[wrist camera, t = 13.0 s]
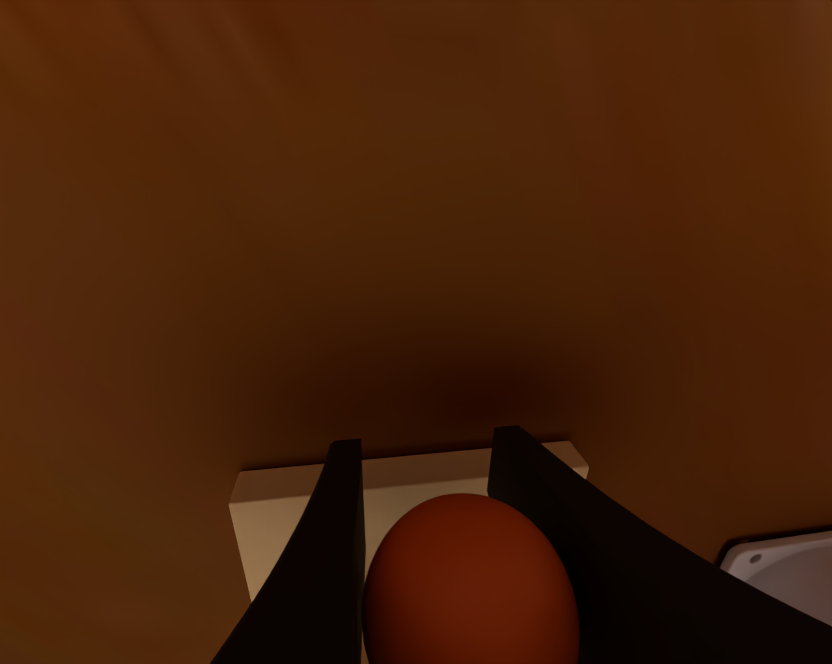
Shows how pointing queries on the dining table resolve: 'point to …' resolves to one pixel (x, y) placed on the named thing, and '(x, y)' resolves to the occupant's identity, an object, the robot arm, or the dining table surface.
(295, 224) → the dining table surface
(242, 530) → the switch bracket
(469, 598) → the switch
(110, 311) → the dining table surface
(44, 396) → the dining table surface
